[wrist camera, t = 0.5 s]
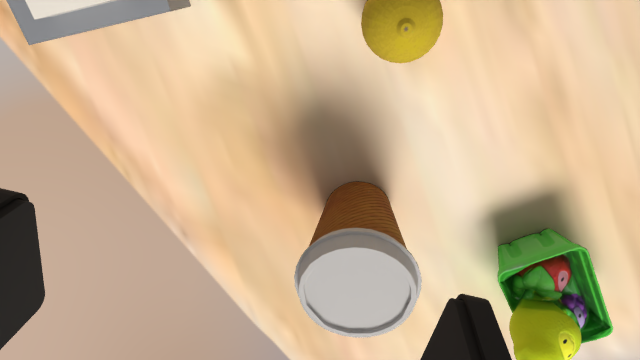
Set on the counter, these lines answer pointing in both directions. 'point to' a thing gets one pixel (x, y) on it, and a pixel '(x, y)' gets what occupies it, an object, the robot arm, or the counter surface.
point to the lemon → (401, 28)
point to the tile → (59, 6)
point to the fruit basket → (551, 296)
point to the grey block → (87, 17)
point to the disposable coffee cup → (358, 266)
